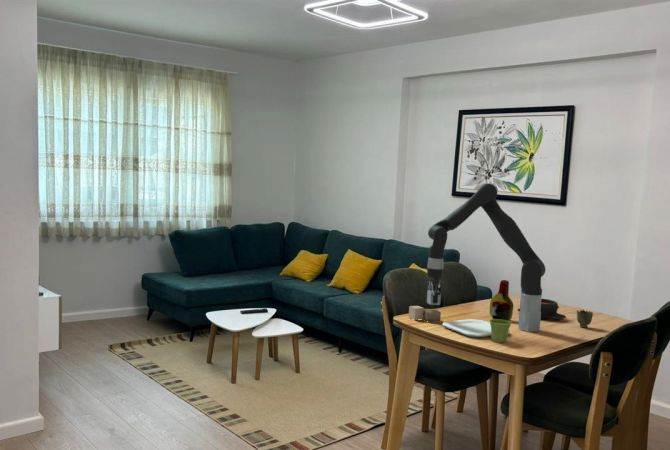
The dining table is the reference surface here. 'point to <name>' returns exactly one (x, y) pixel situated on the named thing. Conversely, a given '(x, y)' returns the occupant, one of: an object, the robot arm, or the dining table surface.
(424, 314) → the walnut block
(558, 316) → the casserole
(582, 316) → the cup
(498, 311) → the bottle
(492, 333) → the plant pot
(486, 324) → the plate
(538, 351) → the dining table surface
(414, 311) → the pale pinkish block
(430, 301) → the grey cube
